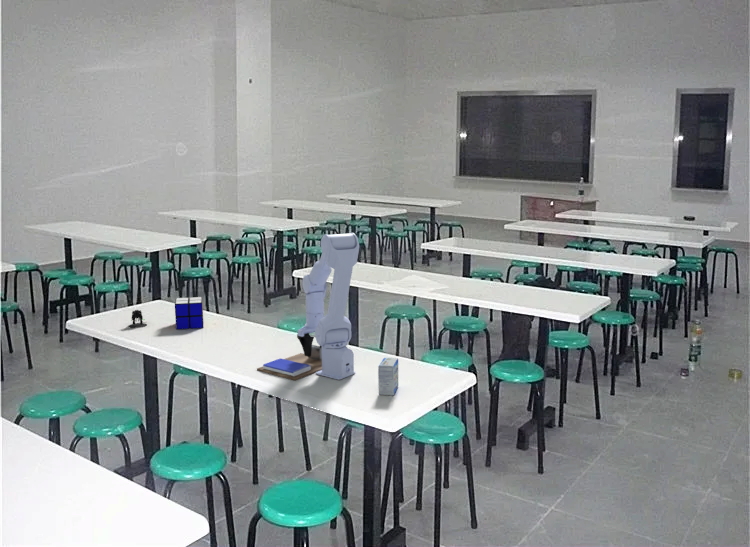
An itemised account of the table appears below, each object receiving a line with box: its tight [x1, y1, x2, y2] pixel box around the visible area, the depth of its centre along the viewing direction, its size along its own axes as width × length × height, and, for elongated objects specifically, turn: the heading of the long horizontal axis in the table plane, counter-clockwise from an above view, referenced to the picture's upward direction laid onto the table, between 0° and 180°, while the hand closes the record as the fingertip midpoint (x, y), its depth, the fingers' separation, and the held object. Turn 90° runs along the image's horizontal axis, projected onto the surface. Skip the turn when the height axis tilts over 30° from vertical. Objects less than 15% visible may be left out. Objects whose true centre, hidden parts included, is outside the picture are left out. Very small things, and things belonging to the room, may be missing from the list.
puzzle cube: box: [174, 296, 204, 330], centre depth 271 cm, size 10×10×10 cm
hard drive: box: [262, 358, 311, 376], centre depth 219 cm, size 2×8×12 cm
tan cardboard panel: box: [256, 344, 322, 381], centre depth 223 cm, size 16×20×4 cm
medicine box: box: [377, 357, 399, 396], centre depth 202 cm, size 8×4×9 cm, turn 168°
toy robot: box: [127, 309, 148, 329], centre depth 271 cm, size 12×12×12 cm
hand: (315, 353), depth 229 cm, fingers open, 7 cm apart
